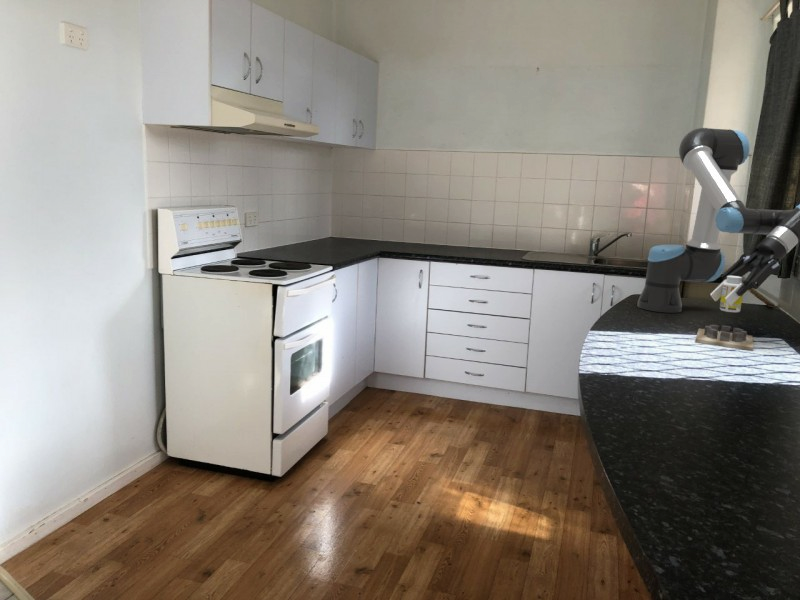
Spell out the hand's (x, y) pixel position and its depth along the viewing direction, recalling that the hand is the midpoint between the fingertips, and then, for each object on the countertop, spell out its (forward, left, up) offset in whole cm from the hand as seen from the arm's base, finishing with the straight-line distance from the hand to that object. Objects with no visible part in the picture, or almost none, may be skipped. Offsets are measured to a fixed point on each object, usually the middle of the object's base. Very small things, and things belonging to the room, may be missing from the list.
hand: (720, 299), depth 195 cm
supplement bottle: (+3, +2, -4) cm, 5 cm away
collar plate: (+3, +3, -12) cm, 13 cm away
